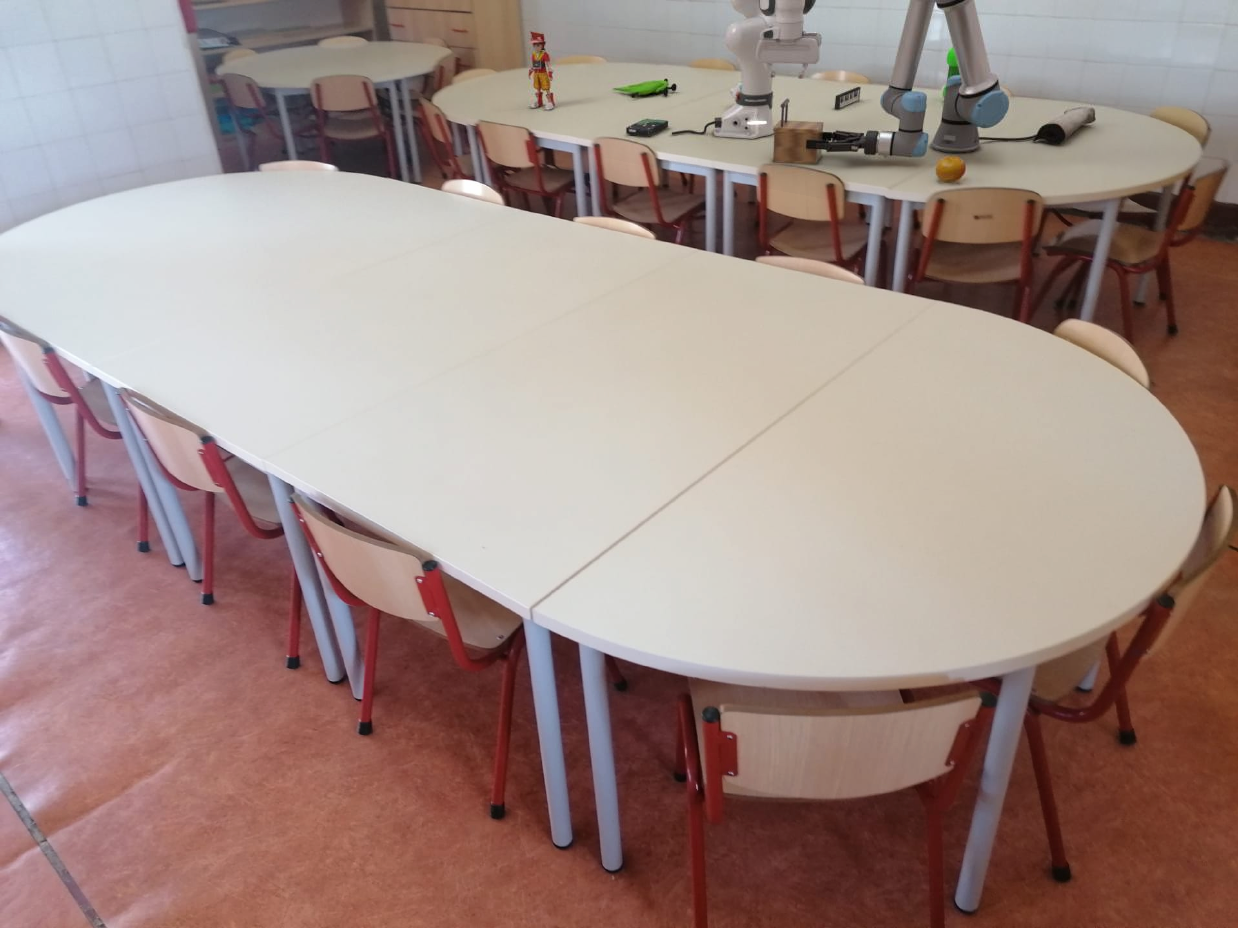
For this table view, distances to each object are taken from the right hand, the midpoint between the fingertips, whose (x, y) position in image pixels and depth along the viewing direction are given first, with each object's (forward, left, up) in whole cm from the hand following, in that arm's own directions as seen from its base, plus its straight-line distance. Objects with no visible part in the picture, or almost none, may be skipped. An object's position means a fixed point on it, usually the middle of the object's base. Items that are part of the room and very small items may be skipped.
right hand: (809, 140), depth 299 cm
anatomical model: (+7, -76, -6) cm, 77 cm away
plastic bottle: (-74, -60, -6) cm, 95 cm away
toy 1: (+90, -101, -6) cm, 135 cm away
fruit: (-36, +32, -6) cm, 49 cm away
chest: (+3, -2, -6) cm, 7 cm away
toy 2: (+46, -116, -6) cm, 125 cm away
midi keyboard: (-33, -68, -6) cm, 76 cm away
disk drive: (+50, -50, -6) cm, 71 cm away
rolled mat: (-92, -7, -6) cm, 93 cm away
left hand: (+8, -4, +19) cm, 21 cm away
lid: (+4, -2, +3) cm, 5 cm away
